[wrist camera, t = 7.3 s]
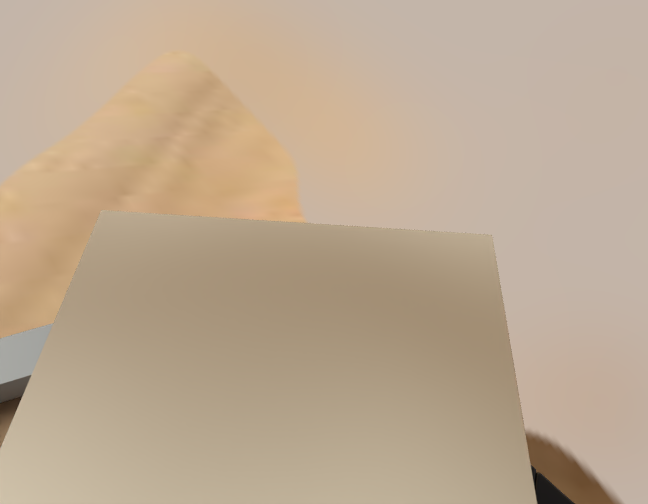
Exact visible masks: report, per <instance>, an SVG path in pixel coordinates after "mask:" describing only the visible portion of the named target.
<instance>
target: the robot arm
mask: <svg viewBox="0 0 648 504" xmlns="http://www.w3.org/2000/svg"><path fill="white" fill-rule="evenodd" d="M531 470H532V476H533V482H534V488H535V494H536V500H537V504H575V503H573V502H572V501H571V500H570V499H569V498H568V497H567V496H565V495H564V494H563V493H562V492H561V491H560V490H559V489H557V488H556V487H555V486H554V485H553V484H552V483H551V482H550V481H549V480H548V479H546V478H545V477H544V476H543V475H542V474H541V473H539V472H537V473H536V469H535V468H534V467H533V466H532V465H531Z"/></svg>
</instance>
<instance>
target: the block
mask: <svg viewBox="0 0 648 504" xmlns="http://www.w3.org/2000/svg"><path fill="white" fill-rule="evenodd" d="M0 504H537V500H536V494H535V488H534V482H533V476H532V470H531V464H530V458H529V452H528V446H527V440H526V434H525V429H524V423H523V417H522V411H521V405H520V399H519V393H518V387H517V381H516V375H515V369H514V363H513V358H512V351H511V346H510V339H509V333H508V328H507V321H506V315H505V310H504V304H503V299H502V292H501V286H500V280H499V274H498V268H497V262H496V256H495V250H494V244H493V238H492V235H486V234H470V233H454V232H438V231H422V230H406V229H391V228H376V227H358V226H344V225H327V224H311V223H296V222H281V221H265V220H249V219H233V218H217V217H202V216H186V215H170V214H154V213H138V212H123V211H107V210H101V212H100V215H99V217H98V219H97V222H96V224H95V226H94V229H93V231H92V233H91V236H90V238H89V241H88V243H87V245H86V248H85V250H84V252H83V255H82V257H81V259H80V262H79V264H78V267H77V269H76V271H75V274H74V276H73V278H72V281H71V283H70V285H69V288H68V290H67V292H66V295H65V297H64V300H63V302H62V304H61V307H60V309H59V311H58V314H57V316H56V318H55V321H54V323H53V326H52V328H51V330H50V333H49V335H48V337H47V340H46V342H45V344H44V347H43V349H42V351H41V354H40V356H39V359H38V361H37V363H36V366H35V368H34V370H33V373H32V375H31V377H30V380H29V382H28V384H27V387H26V389H25V392H24V394H23V396H22V399H21V401H20V403H19V406H18V408H17V410H16V413H15V415H14V418H13V420H12V422H11V425H10V427H9V429H8V432H7V434H6V436H5V439H4V441H3V443H2V446H1V448H0Z"/></svg>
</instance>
